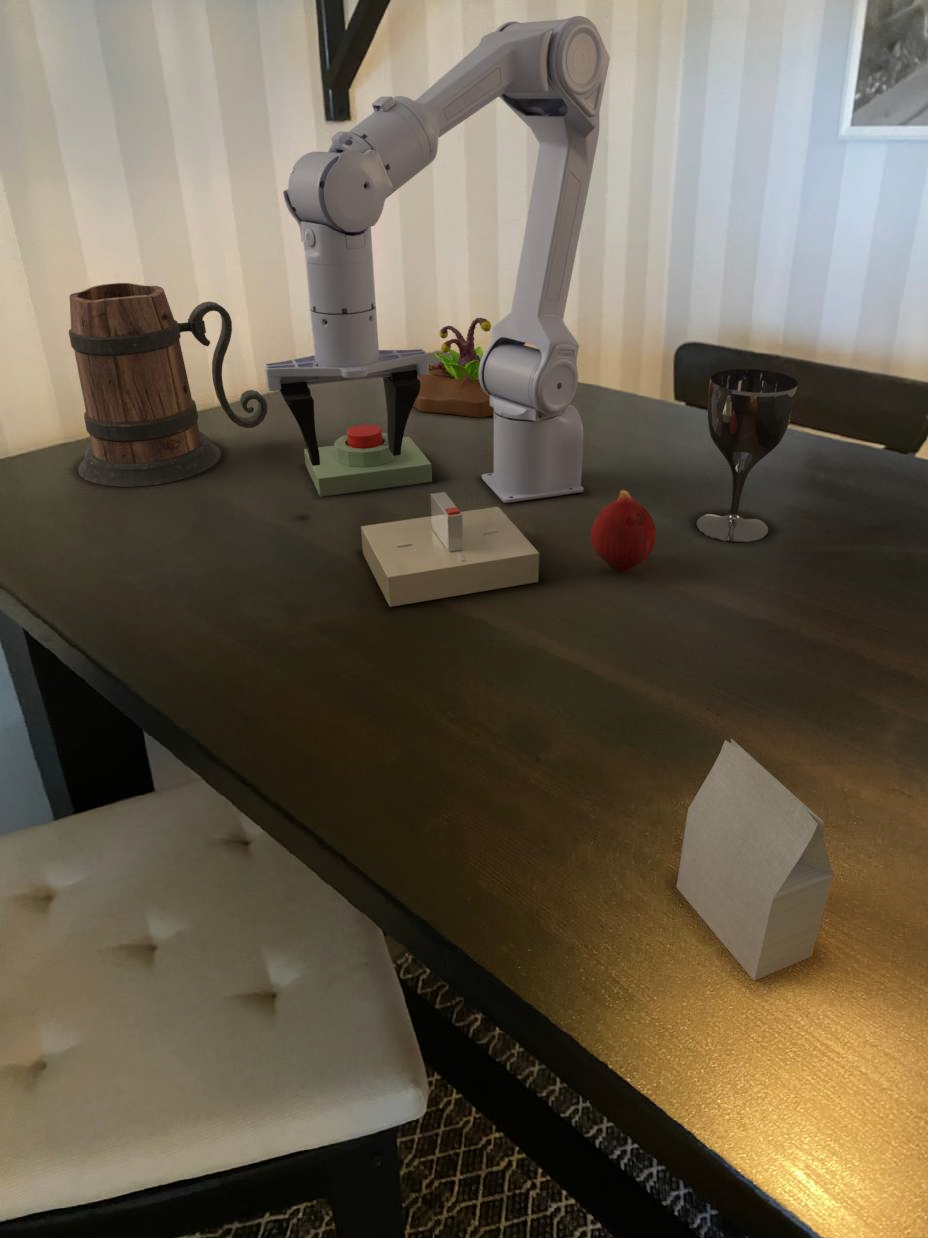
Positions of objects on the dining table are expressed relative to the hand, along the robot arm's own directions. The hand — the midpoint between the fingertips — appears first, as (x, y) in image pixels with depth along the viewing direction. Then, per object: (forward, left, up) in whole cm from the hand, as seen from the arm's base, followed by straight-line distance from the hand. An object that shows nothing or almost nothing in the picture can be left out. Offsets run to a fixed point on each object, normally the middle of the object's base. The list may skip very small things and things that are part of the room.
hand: (355, 456), depth 85 cm
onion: (-22, +14, -9) cm, 27 cm away
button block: (-5, -18, -9) cm, 21 cm away
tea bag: (-10, +53, -9) cm, 54 cm away
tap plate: (-7, +8, -9) cm, 14 cm away
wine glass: (-37, +9, -9) cm, 39 cm away
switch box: (-7, +8, -6) cm, 12 cm away
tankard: (+16, -32, -9) cm, 38 cm away
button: (-5, -18, -6) cm, 20 cm away
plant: (-26, -43, -9) cm, 51 cm away
